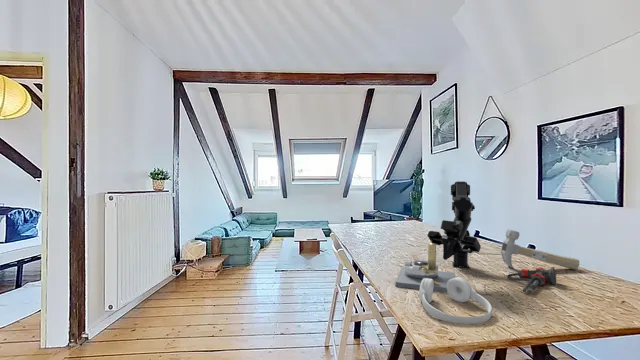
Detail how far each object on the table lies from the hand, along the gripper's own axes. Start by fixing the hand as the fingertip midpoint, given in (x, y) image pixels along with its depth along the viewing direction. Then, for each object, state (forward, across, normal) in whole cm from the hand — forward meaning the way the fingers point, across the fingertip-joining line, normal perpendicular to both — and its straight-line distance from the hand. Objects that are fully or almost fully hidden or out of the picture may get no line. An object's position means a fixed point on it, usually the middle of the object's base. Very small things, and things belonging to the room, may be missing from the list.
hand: (444, 259), depth 118 cm
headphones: (+21, +14, -8) cm, 27 cm away
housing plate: (+9, -5, +3) cm, 11 cm away
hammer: (-29, +16, +42) cm, 53 cm away
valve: (-9, +20, +22) cm, 31 cm away
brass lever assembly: (+8, -6, +2) cm, 10 cm away
